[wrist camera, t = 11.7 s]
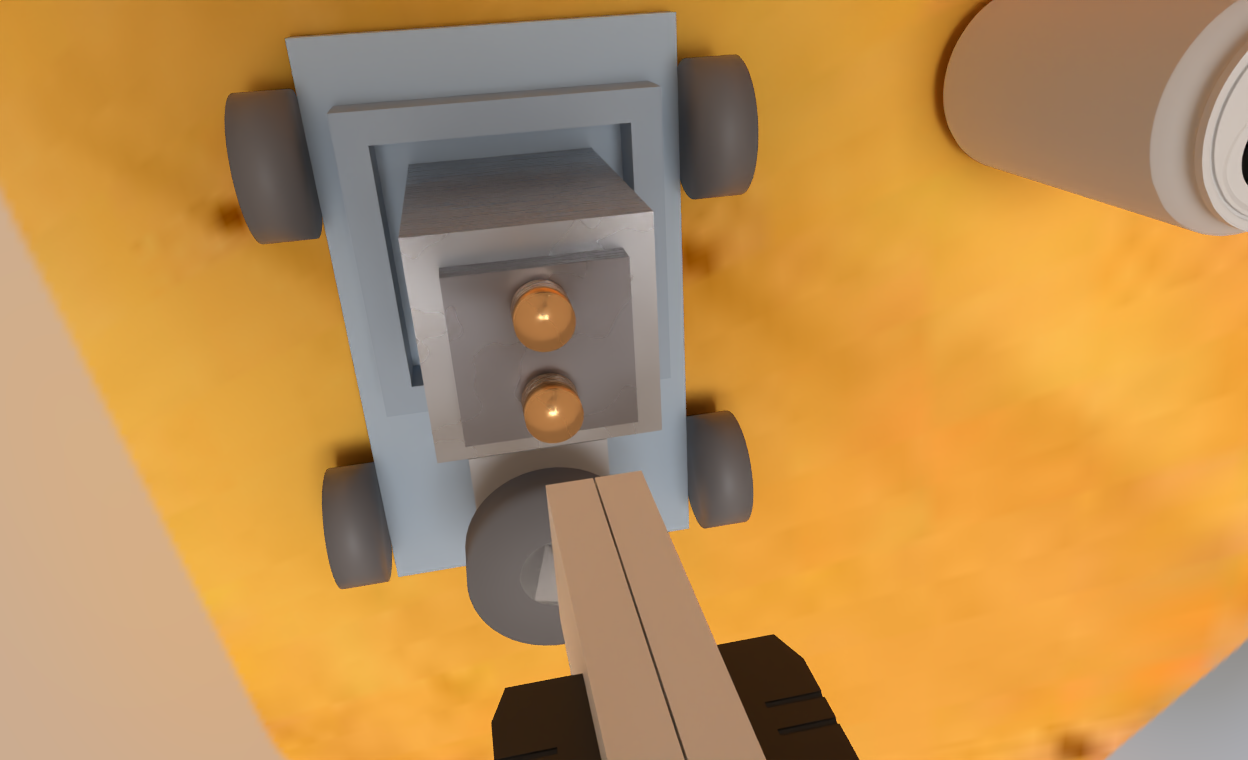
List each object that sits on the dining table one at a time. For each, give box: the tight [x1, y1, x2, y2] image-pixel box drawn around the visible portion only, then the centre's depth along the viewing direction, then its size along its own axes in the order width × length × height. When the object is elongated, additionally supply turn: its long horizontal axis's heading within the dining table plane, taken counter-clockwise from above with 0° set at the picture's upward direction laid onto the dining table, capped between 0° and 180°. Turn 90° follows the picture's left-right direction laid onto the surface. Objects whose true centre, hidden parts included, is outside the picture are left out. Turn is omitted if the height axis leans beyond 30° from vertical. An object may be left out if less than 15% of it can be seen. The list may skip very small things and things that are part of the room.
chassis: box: [225, 11, 758, 589], centre depth 29 cm, size 20×15×4 cm
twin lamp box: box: [398, 147, 662, 463], centre depth 24 cm, size 6×6×11 cm
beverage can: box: [943, 0, 1248, 236], centre depth 26 cm, size 6×6×12 cm
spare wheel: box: [465, 467, 601, 645], centre depth 30 cm, size 6×6×4 cm
